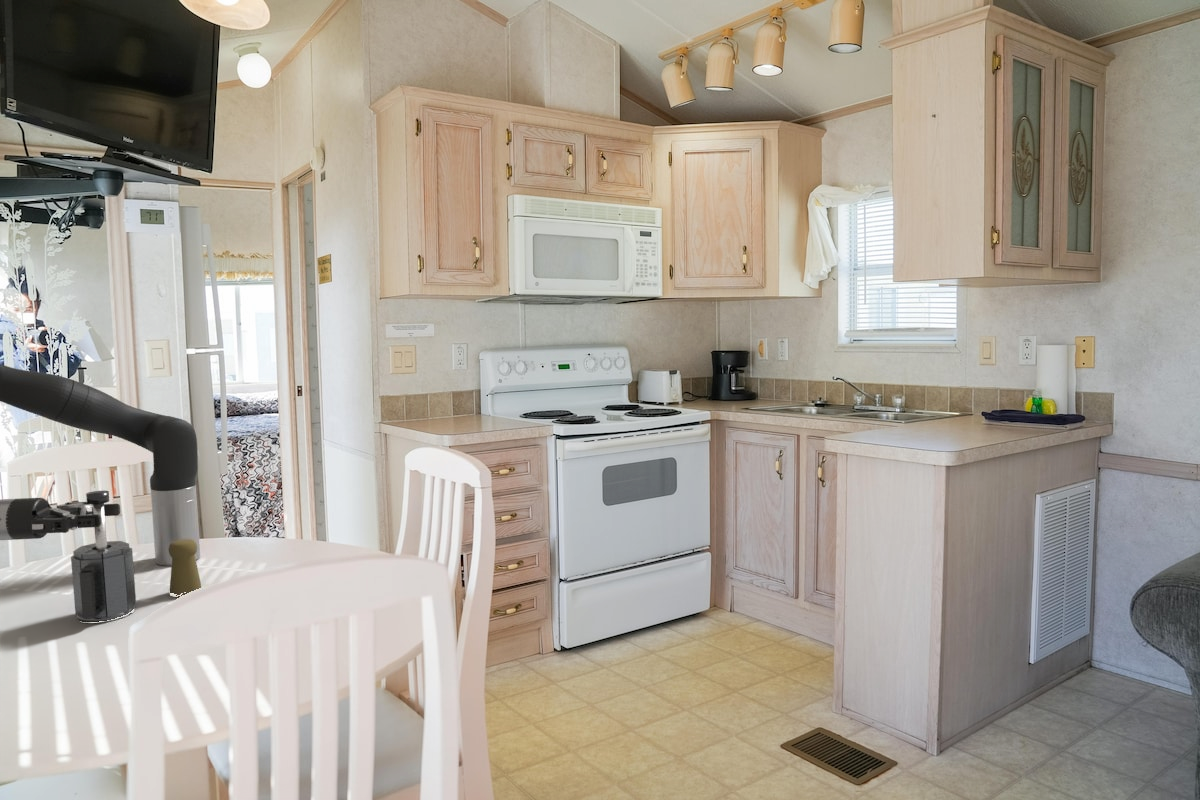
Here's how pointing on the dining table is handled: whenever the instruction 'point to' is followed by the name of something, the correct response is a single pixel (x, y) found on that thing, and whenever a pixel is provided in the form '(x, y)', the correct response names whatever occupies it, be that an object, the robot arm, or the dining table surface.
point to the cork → (183, 567)
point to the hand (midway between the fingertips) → (110, 514)
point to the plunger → (98, 508)
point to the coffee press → (103, 581)
